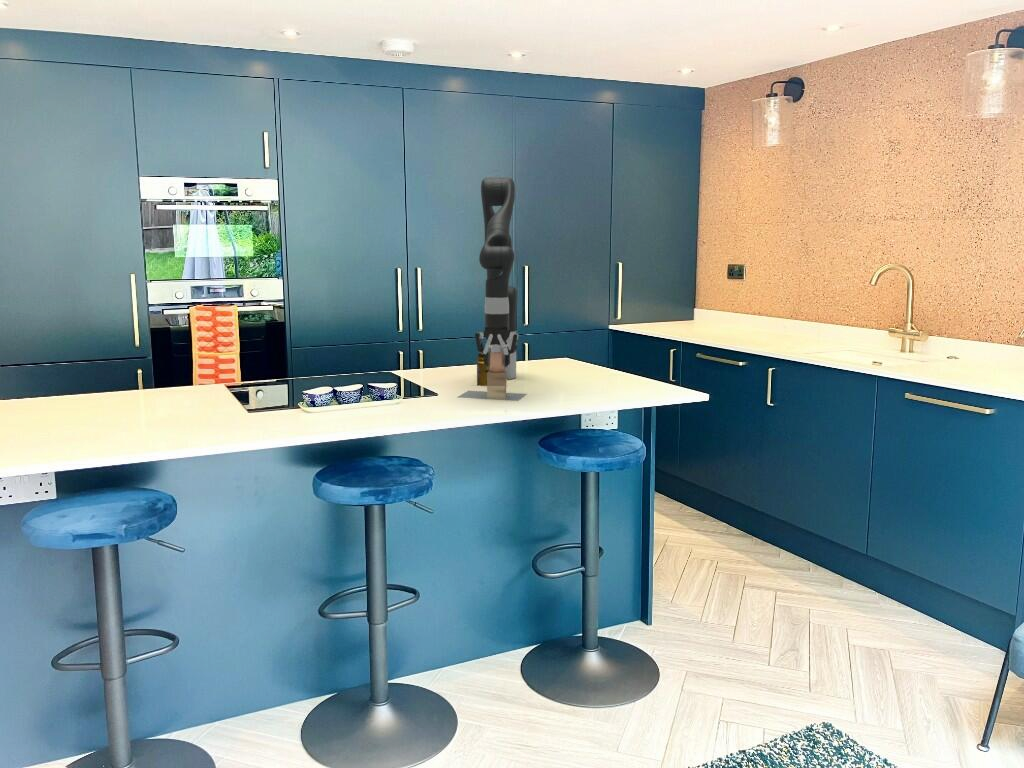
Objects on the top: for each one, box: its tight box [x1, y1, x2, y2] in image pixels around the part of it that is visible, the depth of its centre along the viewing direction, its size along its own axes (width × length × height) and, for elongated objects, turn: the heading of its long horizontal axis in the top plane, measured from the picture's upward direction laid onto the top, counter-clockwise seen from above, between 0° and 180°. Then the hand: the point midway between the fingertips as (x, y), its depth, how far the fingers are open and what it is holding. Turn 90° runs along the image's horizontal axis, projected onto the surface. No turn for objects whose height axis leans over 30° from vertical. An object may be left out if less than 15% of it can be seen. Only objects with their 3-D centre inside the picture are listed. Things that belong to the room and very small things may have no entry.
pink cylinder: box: [489, 351, 504, 373], centre depth 261 cm, size 4×4×6 cm
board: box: [457, 390, 528, 402], centre depth 265 cm, size 12×20×1 cm, turn 75°
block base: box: [486, 384, 507, 400], centre depth 262 cm, size 6×6×4 cm
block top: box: [486, 370, 507, 387], centre depth 262 cm, size 6×6×4 cm
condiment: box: [471, 352, 490, 387], centre depth 285 cm, size 7×8×12 cm
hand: (496, 365), depth 261 cm, fingers open, 5 cm apart
